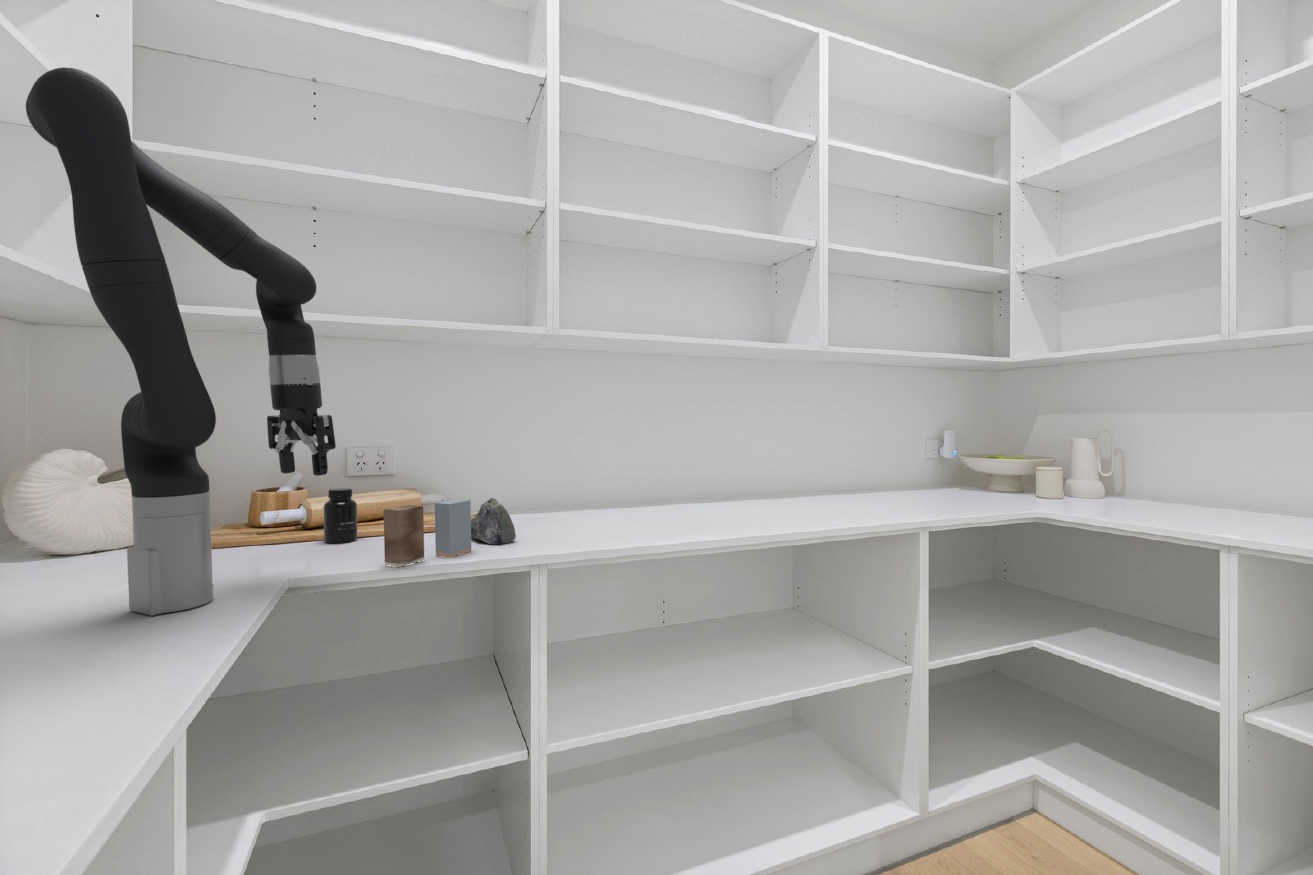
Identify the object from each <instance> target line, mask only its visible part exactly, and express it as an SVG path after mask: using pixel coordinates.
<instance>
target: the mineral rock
mask: <svg viewBox="0 0 1313 875" xmlns="http://www.w3.org/2000/svg"><path fill="white" fill-rule="evenodd" d="M471 538H473V539H478V540H479V541H482V542H484V543H487V544H488V545H502V544H504V545H505V544H509V543H511V542H513V541H515V540H516V538H517V535H516V528H515V525H514V522H513V521H512V519H511V516H510V514H509V512H508V510H507V509H506V508H505V507H504V505H503V504H502V503H499V502H498V500H497V499H496V498H495V497H493V498H492V497H490V498H489V499H488V500H486V501H485V502H483V504H480V509H479V510H478V512H477V513H476V515H475V516H474V517H473V518H472V519H471Z"/></svg>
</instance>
